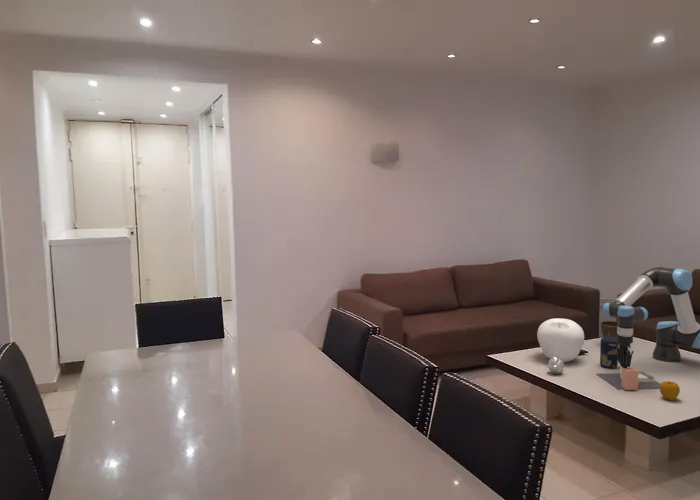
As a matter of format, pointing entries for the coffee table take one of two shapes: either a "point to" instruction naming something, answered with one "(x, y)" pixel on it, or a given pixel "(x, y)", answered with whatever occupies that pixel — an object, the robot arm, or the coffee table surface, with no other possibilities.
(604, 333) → the plant pot
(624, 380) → the pink upright block
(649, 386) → the slate mat
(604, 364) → the canister
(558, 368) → the silver round lump
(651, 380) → the ticket booklet
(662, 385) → the apple
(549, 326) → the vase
